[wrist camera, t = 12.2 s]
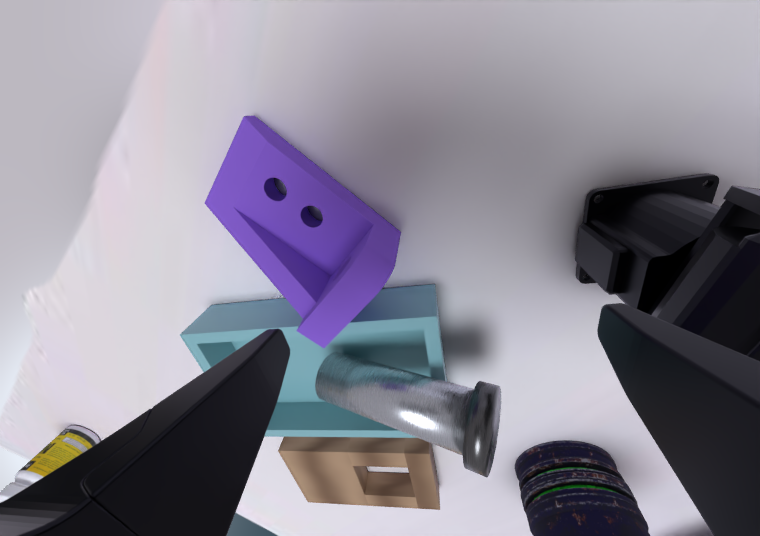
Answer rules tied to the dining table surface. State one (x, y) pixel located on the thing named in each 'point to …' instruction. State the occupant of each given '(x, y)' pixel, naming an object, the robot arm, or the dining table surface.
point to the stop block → (363, 470)
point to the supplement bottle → (51, 458)
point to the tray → (359, 338)
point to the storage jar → (576, 492)
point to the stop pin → (417, 405)
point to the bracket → (302, 230)
